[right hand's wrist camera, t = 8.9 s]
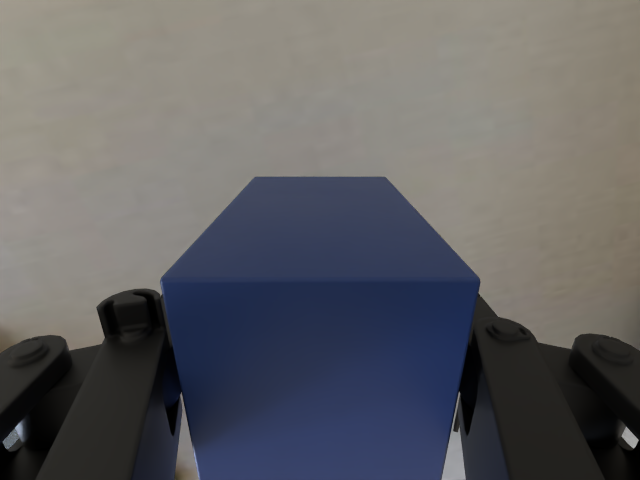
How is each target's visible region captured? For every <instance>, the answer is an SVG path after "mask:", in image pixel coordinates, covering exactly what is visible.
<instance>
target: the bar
mask: <svg viewBox="0 0 640 480" xmlns="http://www.w3.org/2000/svg"><path fill="white" fill-rule="evenodd" d="M160 284H161V289H162V294H163V299H164V304H165V309H166V314H167V319H168V324H169V329H170V334H171V340H172V345H173V350H174V355H175V360H176V365H177V370H178V375H179V380H180V385H181V390H182V395H183V401H184V406H185V411H186V416H187V421H188V426H189V431H190V436H191V441H192V446H193V451H194V456H195V462H196V467H197V472H198V477H199V480H441V479H442V473H443V468H444V463H445V458H446V453H447V448H448V443H449V438H450V433H451V428H452V423H453V418H454V413H455V408H456V403H457V398H458V393H459V388H460V382H461V377H462V372H463V367H464V362H465V357H466V352H467V347H468V342H469V337H470V332H471V327H472V322H473V317H474V312H475V307H476V302H477V296H478V291H479V286H480V279H479V277H478V276H477V275H476V274H475V273H474V272H473V271H472V270H471V269H470V267H469V266H468V265H467V264H466V263H465V262H464V261H463V260H462V259H461V258H460V257H459V256H458V255H457V253H456V252H455V251H454V250H453V249H452V248H451V247H450V246H449V245H448V244H447V243H446V242H445V241H444V239H443V238H442V237H441V236H440V235H439V234H438V233H437V232H436V231H435V230H434V229H433V228H432V227H431V226H430V224H429V223H428V222H427V221H426V220H425V219H424V218H423V217H422V216H421V215H420V214H419V213H418V212H417V210H416V209H415V208H414V207H413V206H412V205H411V204H410V203H409V202H408V201H407V200H406V199H405V198H404V196H403V195H402V194H401V193H400V192H399V191H398V190H397V189H396V188H395V187H394V186H393V185H392V184H391V183H390V181H389V180H388V179H387V178H386V177H254V178H253V180H252V181H251V182H250V183H249V184H248V185H247V186H246V187H245V188H244V189H243V190H242V191H241V192H240V194H239V195H238V196H237V197H236V198H235V199H234V200H233V201H232V202H231V203H230V204H229V205H228V206H227V208H226V209H225V210H224V211H223V212H222V213H221V214H220V215H219V216H218V217H217V218H216V219H215V221H214V222H213V223H212V224H211V225H210V226H209V227H208V228H207V229H206V230H205V231H204V232H203V233H202V235H201V236H200V237H199V238H198V239H197V240H196V241H195V242H194V243H193V244H192V245H191V246H190V247H189V249H188V250H187V251H186V252H185V253H184V254H183V255H182V256H181V257H180V258H179V259H178V260H177V261H176V263H175V264H174V265H173V266H172V267H171V268H170V269H169V270H168V271H167V272H166V273H165V274H164V275H163V277H162V278H161V281H160Z"/></svg>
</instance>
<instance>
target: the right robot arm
mask: <svg viewBox="0 0 640 480" xmlns="http://www.w3.org/2000/svg"><path fill="white" fill-rule="evenodd" d="M96 308H97V311H98V315H99V318H100V322H101V325H102V329H103V332H104V336H105V339H104V341H103V343H102V344H100V345H96V346H91V347H86V348H81V349H75V350H70V351H69V349H68V346H67V343H66V340H65V339H64V338H62V337H61V336H55V335H47V336H38V337H33V338H32V339H30V338H29V339H26V340H23V341H21V342H20V343H18V344H16V345H14V346H11V347H9V348H8V349H6V350H5V351H3V352H2V353H0V480H174V476H175V468H176V460H177V451H178V443H179V434H180V426H181V417H182V403H181V398H180V394H181V392H182V390H181V385H180V380H179V375H178V370H177V365H176V360H175V355H174V350H173V345H172V340H171V334H170V329H169V324H168V319H167V314H166V309H165V304H164V299H163V294H162V295H161V298H160V294H159V293H158V292H156V291H155V290H150V289H133V290H128V291H123V292H121V293H118V294H115V295H112V296H110V297H109V298H107V299H105V300H104V301H102V302H101V303H100V304H99V305H98V306H97V307H96ZM459 392H460V398H459V403H458V408H457V413H456V418H455V423H454V429H453V431H455V432H458V429H459V425H460V433H461V442H462V450H463V459H464V467H465V476H466V480H640V351H639V350H637V349H636V348H634V347H632V346H631V345H629V344H626V343H624V342H622V341H620V340H619V339H616V338H613V337H609V336H606V335H598V334H582V335H579V336H578V337H576V338H575V341H574V344H573V346H572V349H567V348H562V347H557V346H552V345H547V344H542V343H538V342H537V340H536V338H535V337H534V335H533V334H532V333H531V332H530V330H528V329H527V328H525V327H524V326H522V325H521V324H519V323H516V322H514V321H511V320H509V319H504V318H500V317H498V316H497V315H496V314H495V312H494V311H493V310H492V309H491V308H490V307H489V305H488V304H487V303H486V302H485V301H484V299H483V298H482V297H480V295H479V294H478V296H477V302H476V307H475V312H474V317H473V322H472V327H471V332H470V337H469V342H468V347H467V352H466V357H465V362H464V367H463V372H462V377H461V382H460V388H459ZM625 427H627V428H628V429H629V430H630V431H631V432H632V433H633V434H634V435H635V436H636V437H637V438H638V440H639V441H638V443H637V445H636V447H635V448H634V449H633V448H632V447H631V446H630V445H629V444H627V442H626V441H625V440H624V439H623V438H622V437H621V436H622V434H623V432H624V429H625ZM14 428H15V429H16V431H17V433H18V435H19V437H20V438H19V439H18V440H17V441H16V442H15V444H14V445H13V446H11V447H10V448H9V449H8V450H7V449H6V448H5V446H4V444H3V442H2V441H3V440H4V439H5V438H6V437H7V436H8V435H9V434H10V433H11V432H12V431H13V429H14Z"/></svg>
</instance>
